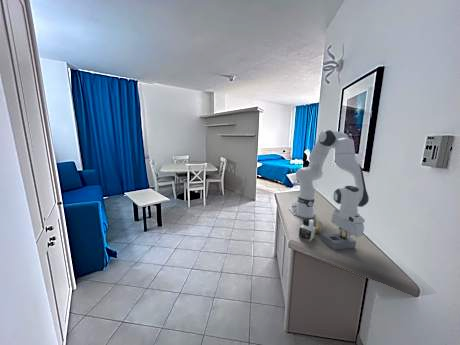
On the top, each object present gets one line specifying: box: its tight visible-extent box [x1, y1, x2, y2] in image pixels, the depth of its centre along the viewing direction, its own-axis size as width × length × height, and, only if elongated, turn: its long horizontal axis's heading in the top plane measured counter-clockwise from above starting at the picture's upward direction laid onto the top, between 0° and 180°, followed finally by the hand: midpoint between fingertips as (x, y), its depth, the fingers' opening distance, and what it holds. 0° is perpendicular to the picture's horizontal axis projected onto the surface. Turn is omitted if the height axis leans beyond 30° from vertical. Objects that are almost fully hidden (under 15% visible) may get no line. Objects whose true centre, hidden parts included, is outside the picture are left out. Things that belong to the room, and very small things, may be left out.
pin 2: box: [341, 229, 348, 240], centre depth 119 cm, size 3×3×8 cm
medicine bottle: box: [298, 217, 316, 242], centre depth 124 cm, size 7×7×12 cm
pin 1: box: [315, 220, 323, 236], centre depth 130 cm, size 3×3×8 cm
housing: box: [321, 232, 357, 251], centre depth 119 cm, size 14×10×4 cm
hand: (344, 236), depth 119 cm, fingers closed on pin 2, 3 cm apart
